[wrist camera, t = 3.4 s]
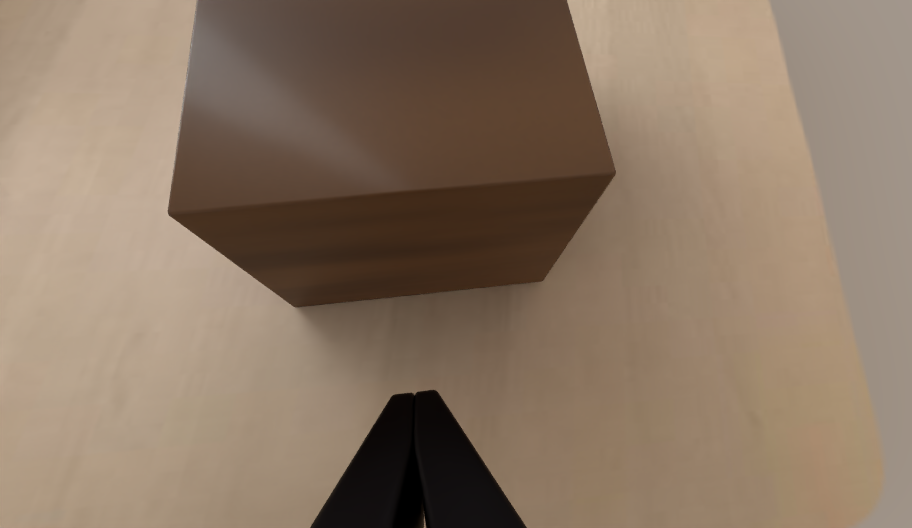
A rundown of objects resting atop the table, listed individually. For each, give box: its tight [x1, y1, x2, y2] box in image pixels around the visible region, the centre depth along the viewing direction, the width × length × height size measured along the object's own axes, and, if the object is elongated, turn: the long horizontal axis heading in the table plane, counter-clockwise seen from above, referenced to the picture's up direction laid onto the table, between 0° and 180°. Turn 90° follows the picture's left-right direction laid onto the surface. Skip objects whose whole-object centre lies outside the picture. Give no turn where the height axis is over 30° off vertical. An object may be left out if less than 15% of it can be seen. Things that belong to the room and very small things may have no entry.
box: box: [168, 0, 616, 307], centre depth 15 cm, size 11×10×8 cm
